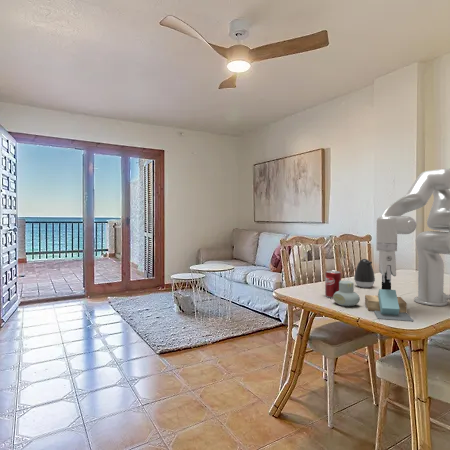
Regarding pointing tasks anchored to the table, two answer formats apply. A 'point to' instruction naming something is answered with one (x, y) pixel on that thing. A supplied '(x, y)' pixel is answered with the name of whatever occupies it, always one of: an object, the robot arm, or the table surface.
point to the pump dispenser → (364, 274)
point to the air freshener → (346, 294)
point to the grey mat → (394, 316)
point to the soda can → (332, 282)
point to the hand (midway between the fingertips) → (386, 292)
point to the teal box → (388, 302)
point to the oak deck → (373, 305)
